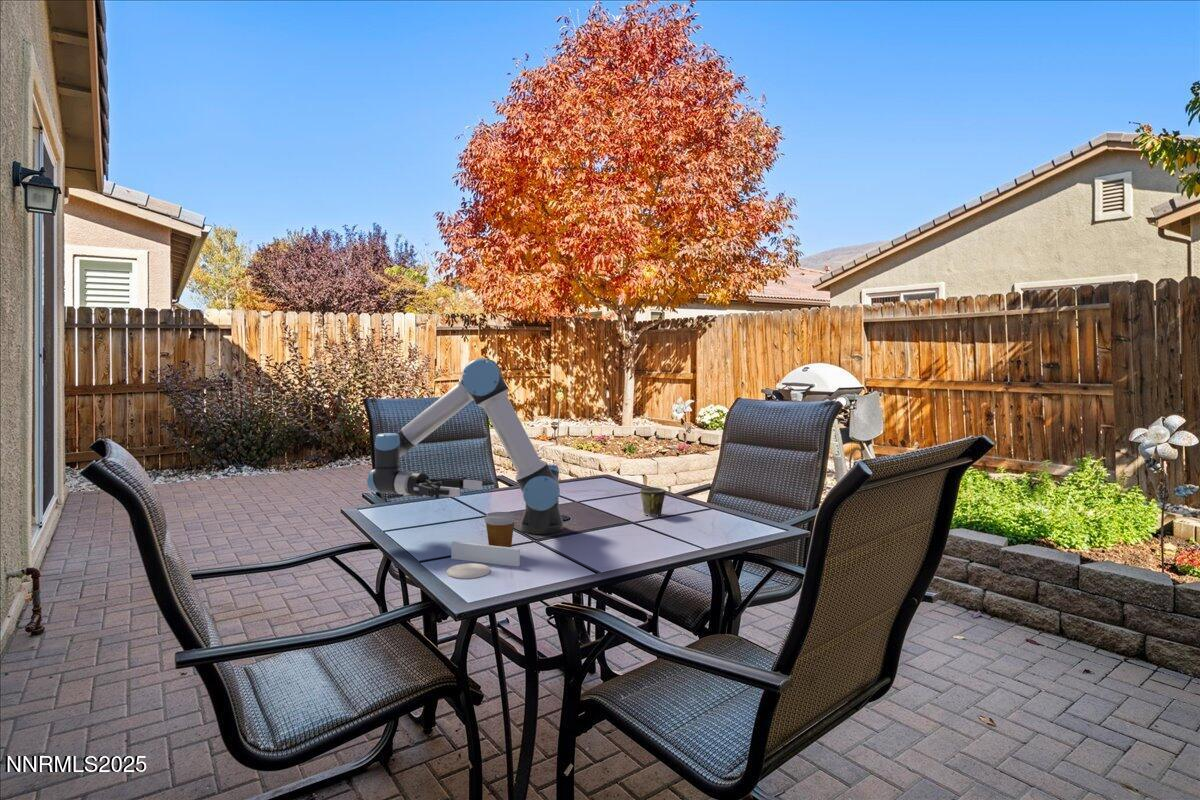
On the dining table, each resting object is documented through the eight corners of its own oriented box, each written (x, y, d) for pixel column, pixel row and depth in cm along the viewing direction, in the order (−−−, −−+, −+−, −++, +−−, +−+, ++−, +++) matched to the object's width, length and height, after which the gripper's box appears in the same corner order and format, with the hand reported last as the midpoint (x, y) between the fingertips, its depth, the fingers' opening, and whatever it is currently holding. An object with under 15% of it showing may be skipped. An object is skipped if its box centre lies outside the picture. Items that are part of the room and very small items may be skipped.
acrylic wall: (451, 558, 195) (451, 542, 195) (453, 557, 197) (453, 541, 196) (518, 566, 188) (518, 549, 188) (519, 565, 189) (519, 548, 189)
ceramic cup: (639, 511, 260) (639, 486, 259) (664, 512, 259) (664, 487, 259) (640, 519, 247) (640, 493, 246) (666, 520, 246) (666, 493, 246)
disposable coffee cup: (520, 555, 200) (520, 516, 199) (490, 559, 195) (490, 519, 194) (508, 547, 208) (508, 510, 207) (480, 551, 203) (480, 513, 203)
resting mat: (494, 565, 189) (494, 564, 189) (483, 579, 177) (483, 577, 177) (454, 564, 190) (454, 562, 190) (440, 577, 178) (440, 576, 178)
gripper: (434, 488, 222) (490, 493, 215) (388, 502, 199) (449, 509, 192) (434, 466, 222) (490, 471, 215) (388, 478, 198) (449, 483, 191)
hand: (471, 489), depth 203 cm, fingers open, 13 cm apart
